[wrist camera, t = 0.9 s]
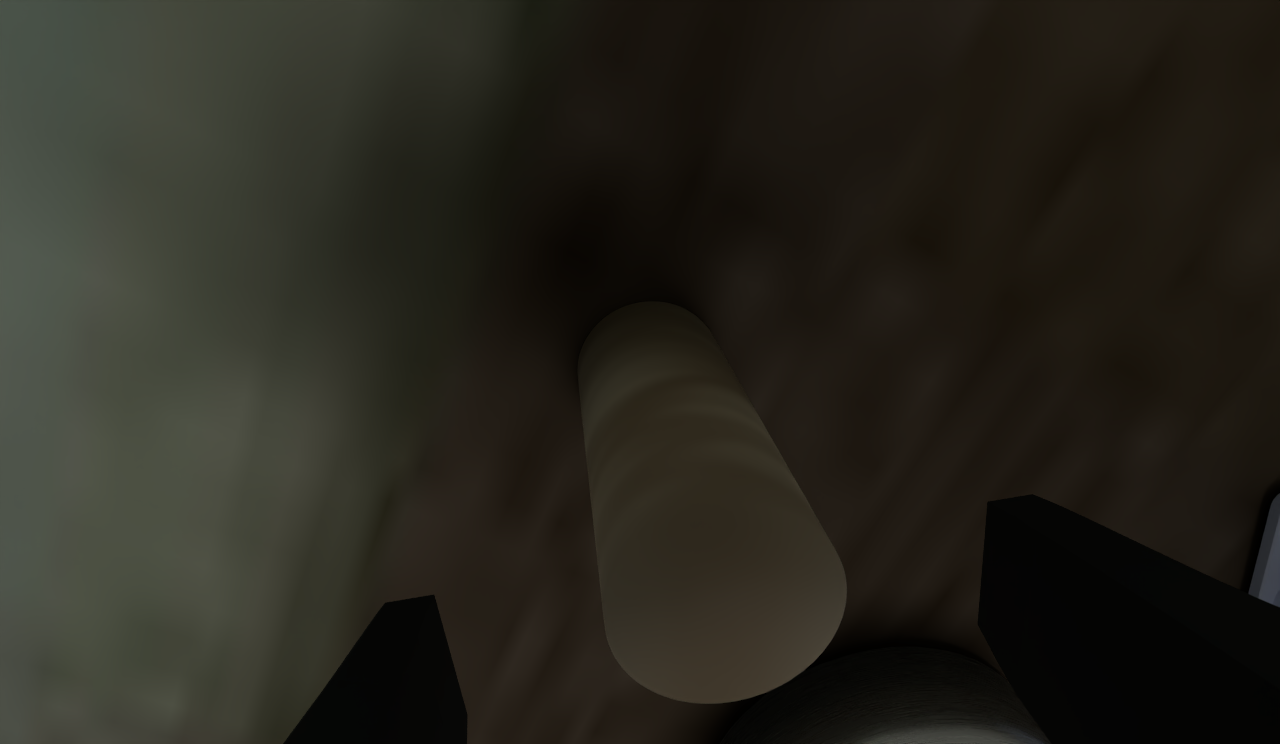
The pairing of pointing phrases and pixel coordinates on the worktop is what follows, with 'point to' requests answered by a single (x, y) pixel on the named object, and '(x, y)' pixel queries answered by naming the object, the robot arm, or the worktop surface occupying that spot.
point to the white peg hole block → (891, 703)
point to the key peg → (697, 517)
